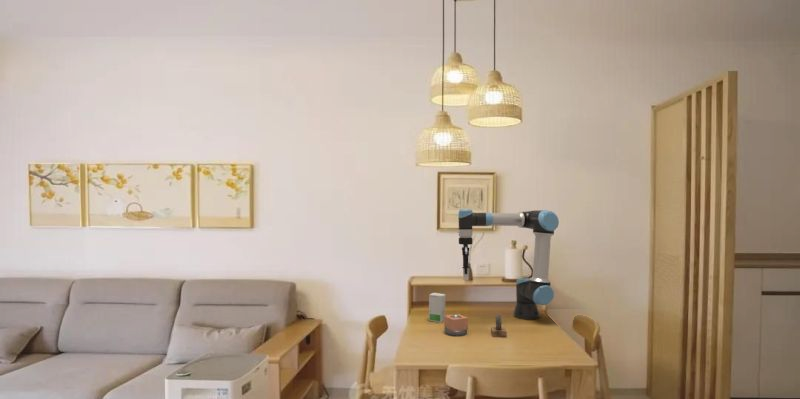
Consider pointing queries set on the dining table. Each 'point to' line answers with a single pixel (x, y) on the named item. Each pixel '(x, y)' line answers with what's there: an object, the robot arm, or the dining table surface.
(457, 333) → the hub
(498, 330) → the stand
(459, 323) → the pink square tube frame
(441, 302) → the skincare box
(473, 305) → the dining table surface
